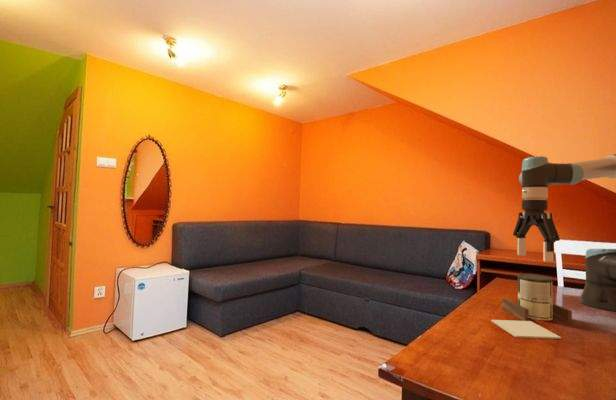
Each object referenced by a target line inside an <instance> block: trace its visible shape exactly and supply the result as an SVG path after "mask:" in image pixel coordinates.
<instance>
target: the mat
mask: <svg viewBox="0 0 616 400" xmlns="http://www.w3.org/2000/svg"><path fill="white" fill-rule="evenodd" d="M490 322H492V323H493V324H495V325H496V326H498V327H499V328H501V329H502V330H504V331H506V332H507V333H509V334H510V335H512V337H515V338H523V339H524V338H525V339H527V338H529V339H551V340H552V339H553V340H562V336H560V335H558V334H556V333H554V332H552V331H550V330H549V329H547V328H545V327H542V326H541V325H538V324H537V323H535V322H534V321H531V320H529V321H523V320H514V319H513V320H512V319H510V320H508V319H491V320H490Z"/></svg>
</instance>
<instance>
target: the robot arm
mask: <svg viewBox="0 0 616 400" xmlns="http://www.w3.org/2000/svg"><path fill="white" fill-rule="evenodd" d="M521 163H522V164H521V172H520V174H519V177H518V180H519V183H520V184H521V198H522V200H521V209H522V210H523V211H524V212H519V213H518V218H517V221H516V224H515V228H514V229H513V233H512V235H513V236H515V237H516V238H517V240H516V242H517V243H516V244H517V252H516V253H517V254H516V255H517V256H527V237H526V236H527V234H528V232H529V231H530V229H531V227H532V226H535V227H537V229H538V230H539V233H540V234H541V236H542V237H543V239H544V240H543V245H542V246H543V247H542V248H543V254H542V257H543V258H542V260H543V262H554V251H555V242H557V241H558V242H559V241H561V240H560V236H559V234H558V233H559V232H558V230H557V228H556V225H555V223H554V219H553V213H552V212H545V211H547V210H548V204H549V203H548V200H547V199H548V198H549V192H548V191H549V188H548V187H549V186H559V185H567V186H568V185H577V184H579V183H580V182H581V181H585V180H586V181H587V180H592V179H601V178H608V179H616V153H615V154H610V155H609V154H608V155H606V156H604V157H603V158H598V159H590V160H583V161H577V162H576V161H575V162H569V163H554V162H553V163H552V162H551V163H550V162H549V160H548V157H546V156H541V155H539V156H536V155H535V156H529V157H525V158H524V159H523V160H522V162H521ZM584 262H585V265H584V267H585V285H584V287H583V290H582V292H581V295H580V297H579V299H580V300H579V301H580V302H581V304H584V305H586V306H589V307H592V308H596V309H600V310H606V311H614V312H616V248H589V249H587V250H586V251H585V257H584Z"/></svg>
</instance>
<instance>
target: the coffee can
mask: <svg viewBox="0 0 616 400" xmlns="http://www.w3.org/2000/svg"><path fill="white" fill-rule="evenodd" d="M553 281H554V278H553V277H551V276H548V275H543V274H539V273H538V274H537V273H528V272H527V273H525V272H524V273H517V304H518V305H520V306H522V307H524V308H526V309H528V310H529V319H532V320H537V321H552V320H554V316H553V304H554V301H553V290H554V289H553Z"/></svg>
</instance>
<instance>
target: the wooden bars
mask: <svg viewBox="0 0 616 400" xmlns="http://www.w3.org/2000/svg"><path fill="white" fill-rule="evenodd" d="M501 310H504V311H505V312H507V313H509V314H511V315H513V316H515V317H516V318H518V319H520V320H521V321H530V318H529V310H528V309H526V308H524V307H522V306H520V305H518V303H516V302H514V301H512V300H509V299H508V298H503V297H502V298H501ZM553 318H557V319H559V320H561V321H563V322H565V323H568V324H572V323H573V312H572V310H571V309H567V308H565V307H563V306H560V305H558V304H556V303H553Z"/></svg>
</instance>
